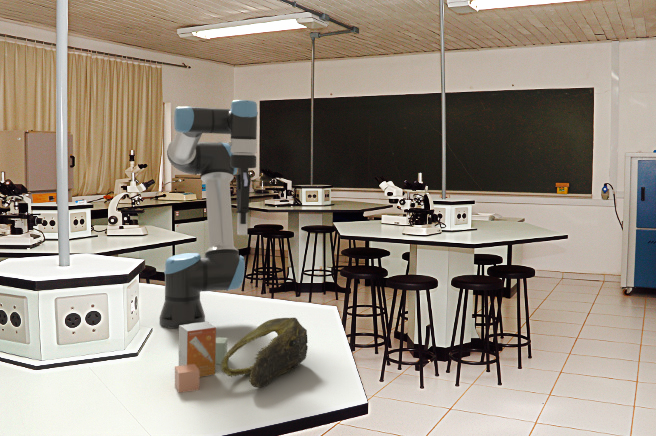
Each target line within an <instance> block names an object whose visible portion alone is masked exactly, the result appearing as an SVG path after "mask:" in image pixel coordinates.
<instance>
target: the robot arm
mask: <svg viewBox="0 0 656 436" xmlns="http://www.w3.org/2000/svg"><path fill="white" fill-rule="evenodd" d="M258 114H259V113H258V104H257V102H256V101H254V100H248V99H247V100H245V99H235V100H232V101H231V103H230V108H218V107H217V108H215V107H199V106H198V107H197V106H190V105H188V106H177V107H175V109H174V115H173V126H174V130H175V131H176V133H175V135H174V138H173V139H172V140H171V141H170V142H169V144H168V146H167V149H166V156H167V159H168V161H169V163H170V164H171V165H172V166H173V167H174V168H175V169H176V170H178V171H180V172H182V173H185V174H190V175H200V180H201V181H202V182H203V183H204V185H205V195H206V198H205V200H206V217H207V232H208V235H207V236H208V249H207V250H206V251H205V252H204V257H201V254H200V253H198V252H187V253H186V252H185V253H180V254H175V255H172V256H169V257H168V258H167V259H166V260H165V264H164V272H163V273H164V302H163V306H162V308H161V311H160V315H159V325H161V326H162V327H164V328H170V329H179V325H186V324H192V323H201V322H206V315H205V310H204V309H203V304H202V302H201V292H214V291H215V292H217V291H219V292H220V291H227V292H228V291H231V290H232V291H233V290H238V289H239V288H241V286H242V285H243V282H244V278H245V277H244V276H245V270H246V269H245V268H246V267H245V266H246V265H245V264H246V263H245V262H246V261H245V257H244V256H242V255H239V254H240V253H239V249H237V248H236V247H235V246H234V245H235V244H234V231H233V230H234V229H233V228H234V227H233V216H232V215H233V213H232V197H231V185H230V184H231V182H232V181H233V180H234V176H235V181H236V182H235V183H236V211H235V213H236V214H237V232H236V233H237V236H248V217H249V216H248V213H249V212H250V208H249V207H250V189H251V187H250V186H251V182H252V181H251V180H252V178H251V177H252V176H251V174H250V173H249V169H256V167H257V156H256V155H255V154H257V146H258V144H257V143H258V140H257V138H258V137H257V136H258V135H257V133H258V131H257V130H258ZM202 134H217V135H218V134H219V135H221V134H222V135H230V141H229V142H222V141H218V142H215V141H214V142H210V141H209V142H207V141H200V139H201V137H202V136H203V135H202Z"/></svg>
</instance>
